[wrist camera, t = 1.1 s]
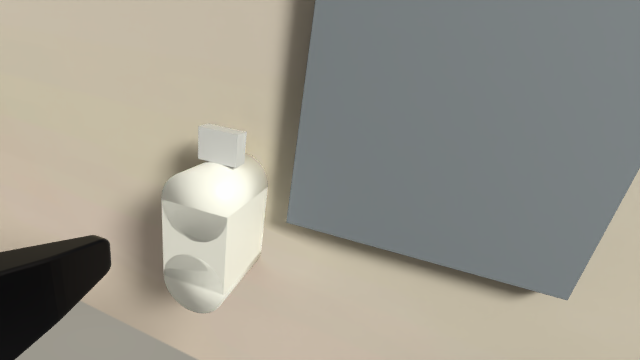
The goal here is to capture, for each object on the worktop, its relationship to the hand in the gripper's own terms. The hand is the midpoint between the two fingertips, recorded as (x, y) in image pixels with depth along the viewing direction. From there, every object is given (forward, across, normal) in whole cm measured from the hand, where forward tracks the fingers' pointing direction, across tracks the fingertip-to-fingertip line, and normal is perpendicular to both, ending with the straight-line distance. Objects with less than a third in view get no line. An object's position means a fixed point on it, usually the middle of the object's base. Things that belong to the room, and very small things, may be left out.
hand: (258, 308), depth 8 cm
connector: (+12, +7, +5) cm, 15 cm away
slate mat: (+12, -5, -4) cm, 14 cm away
